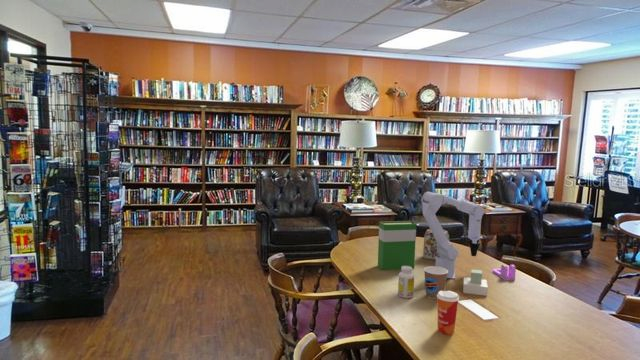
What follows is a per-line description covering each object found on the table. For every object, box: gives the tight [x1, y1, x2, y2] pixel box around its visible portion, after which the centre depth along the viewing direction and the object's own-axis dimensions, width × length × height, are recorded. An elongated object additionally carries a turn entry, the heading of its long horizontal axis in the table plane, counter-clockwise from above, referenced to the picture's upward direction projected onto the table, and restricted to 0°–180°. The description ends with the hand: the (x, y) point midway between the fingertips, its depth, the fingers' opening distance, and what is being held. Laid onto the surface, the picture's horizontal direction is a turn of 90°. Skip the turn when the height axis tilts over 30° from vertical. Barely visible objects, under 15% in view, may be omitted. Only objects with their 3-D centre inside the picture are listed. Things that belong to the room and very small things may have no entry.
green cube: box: [470, 269, 483, 284], centre depth 190 cm, size 4×4×5 cm
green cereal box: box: [377, 220, 417, 271], centre depth 221 cm, size 18×7×24 cm, turn 102°
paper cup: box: [437, 290, 460, 336], centre depth 150 cm, size 8×8×14 cm
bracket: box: [492, 264, 516, 281], centre depth 212 cm, size 13×6×7 cm, turn 7°
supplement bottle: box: [397, 266, 415, 299], centre depth 182 cm, size 7×7×13 cm
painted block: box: [462, 276, 489, 297], centre depth 191 cm, size 10×10×4 cm
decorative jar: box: [422, 228, 450, 261], centre depth 239 cm, size 12×12×18 cm
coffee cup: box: [423, 265, 448, 300], centre depth 182 cm, size 10×10×12 cm
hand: (473, 253), depth 213 cm, fingers open, 7 cm apart
